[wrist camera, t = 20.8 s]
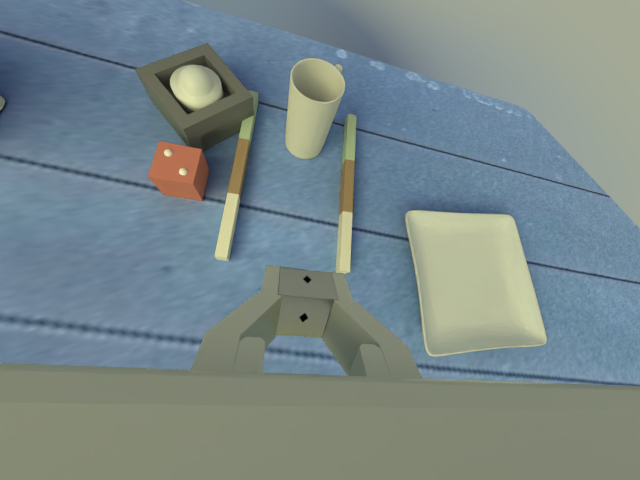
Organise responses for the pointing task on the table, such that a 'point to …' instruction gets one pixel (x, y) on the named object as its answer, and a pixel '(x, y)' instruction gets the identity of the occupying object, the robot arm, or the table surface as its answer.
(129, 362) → the table surface
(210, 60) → the dome housing
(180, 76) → the pop dome
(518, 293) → the salad plate
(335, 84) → the mug
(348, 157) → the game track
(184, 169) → the die
